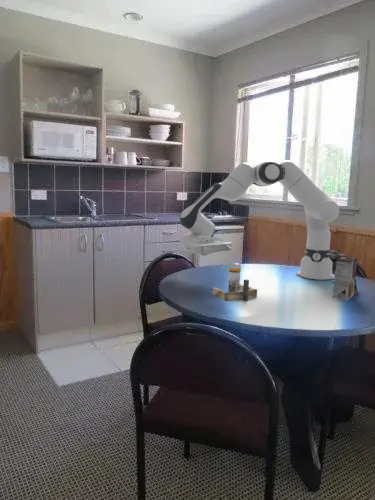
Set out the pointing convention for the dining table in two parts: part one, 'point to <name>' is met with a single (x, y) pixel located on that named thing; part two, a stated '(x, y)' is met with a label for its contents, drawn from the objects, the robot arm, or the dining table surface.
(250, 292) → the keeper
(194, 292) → the dining table surface
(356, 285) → the pottery mug
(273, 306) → the dining table surface
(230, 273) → the silver metal cylinder
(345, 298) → the coffee box
